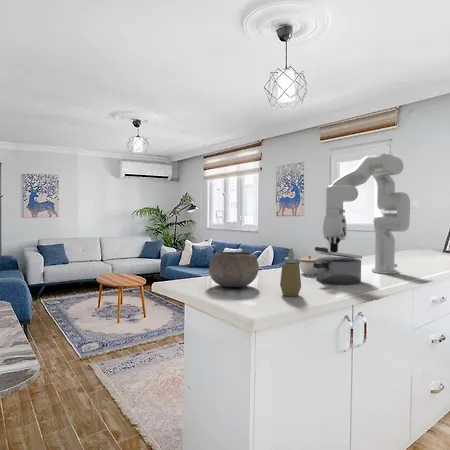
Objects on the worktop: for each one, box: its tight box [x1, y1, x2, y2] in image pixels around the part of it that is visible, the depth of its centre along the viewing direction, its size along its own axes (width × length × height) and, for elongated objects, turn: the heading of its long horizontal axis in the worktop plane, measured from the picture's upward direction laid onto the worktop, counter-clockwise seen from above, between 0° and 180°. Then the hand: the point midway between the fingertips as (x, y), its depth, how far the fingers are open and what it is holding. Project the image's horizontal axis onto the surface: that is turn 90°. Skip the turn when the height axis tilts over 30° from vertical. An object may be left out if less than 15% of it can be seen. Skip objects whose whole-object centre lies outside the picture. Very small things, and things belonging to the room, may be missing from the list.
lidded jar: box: [298, 255, 316, 276], centre depth 187 cm, size 11×11×9 cm
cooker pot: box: [314, 256, 362, 286], centre depth 166 cm, size 26×20×10 cm
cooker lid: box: [314, 246, 363, 260], centre depth 166 cm, size 27×21×3 cm
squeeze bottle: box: [279, 248, 302, 297], centre depth 138 cm, size 8×8×18 cm
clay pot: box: [208, 251, 260, 288], centre depth 153 cm, size 21×21×15 cm
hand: (333, 252), depth 165 cm, fingers closed
